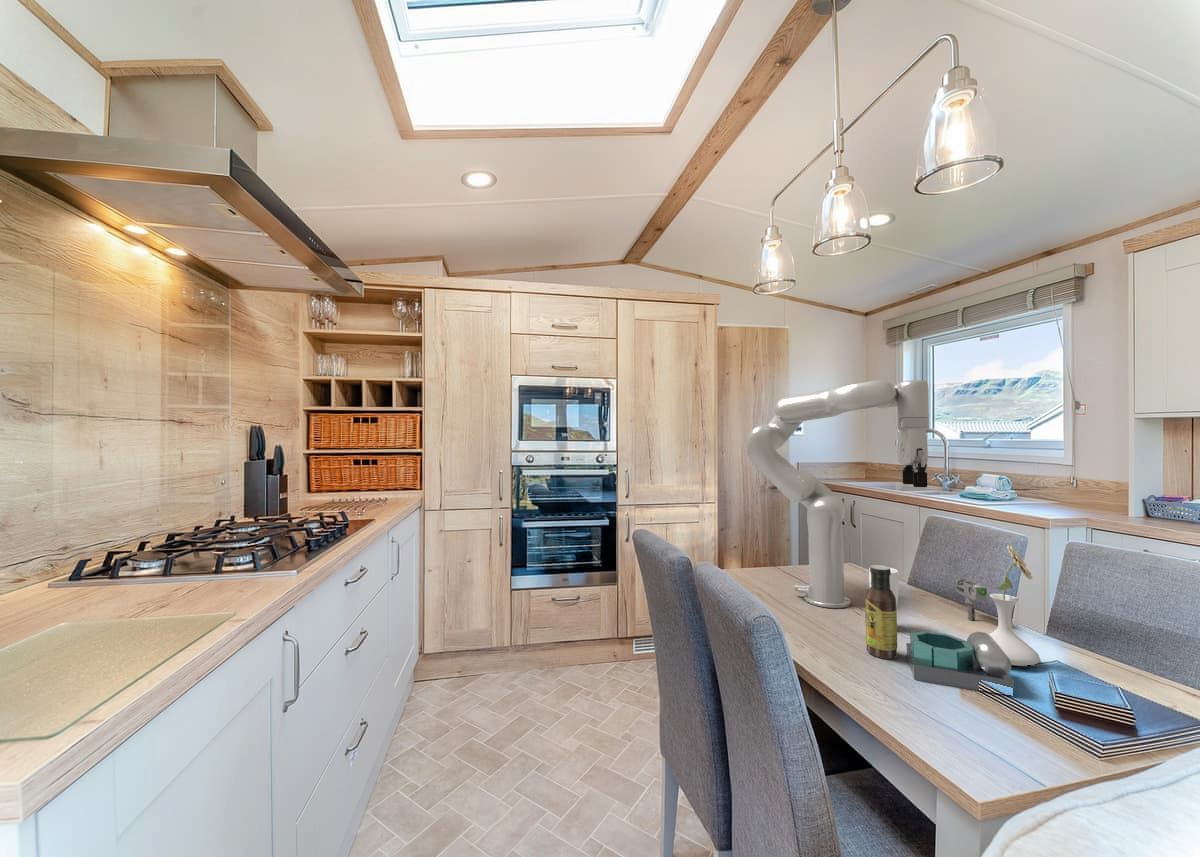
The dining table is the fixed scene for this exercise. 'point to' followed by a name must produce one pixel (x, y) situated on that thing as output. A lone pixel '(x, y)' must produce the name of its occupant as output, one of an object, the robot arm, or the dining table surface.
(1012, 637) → the flower in vase
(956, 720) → the dining table surface
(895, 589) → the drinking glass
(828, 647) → the dining table surface
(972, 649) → the base
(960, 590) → the mechanical component
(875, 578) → the sauce bottle
